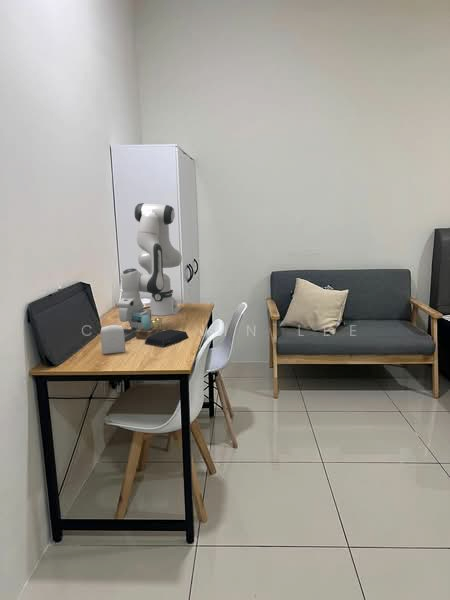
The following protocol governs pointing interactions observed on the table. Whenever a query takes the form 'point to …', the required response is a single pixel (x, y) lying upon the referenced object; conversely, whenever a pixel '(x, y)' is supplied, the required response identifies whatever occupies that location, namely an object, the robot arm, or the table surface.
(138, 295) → the robot arm
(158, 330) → the dog
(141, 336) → the socket block
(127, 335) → the tray
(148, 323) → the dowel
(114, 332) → the photo printer
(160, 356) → the table surface
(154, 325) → the dog
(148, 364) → the table surface
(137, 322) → the light bulb box
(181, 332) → the external hard drive
